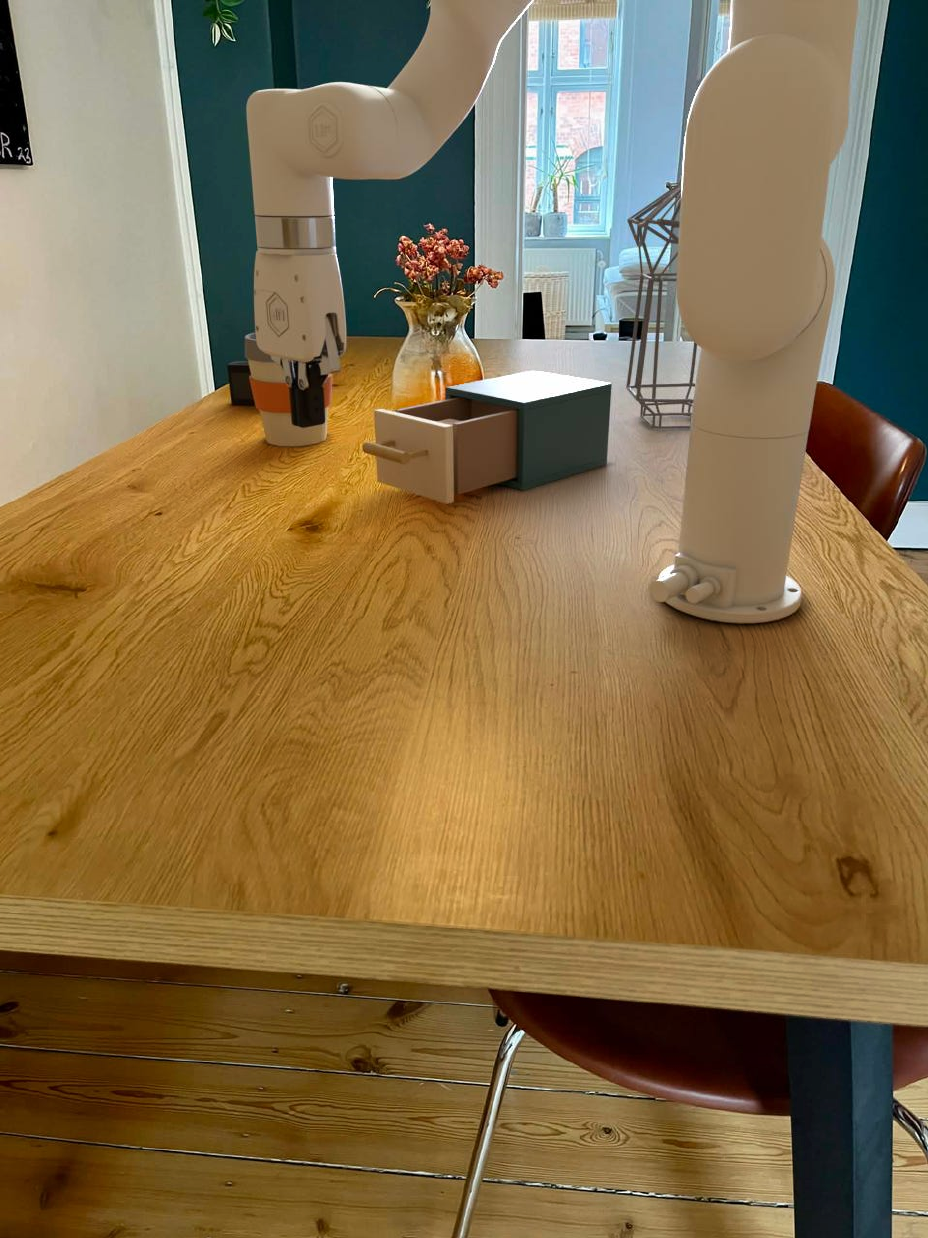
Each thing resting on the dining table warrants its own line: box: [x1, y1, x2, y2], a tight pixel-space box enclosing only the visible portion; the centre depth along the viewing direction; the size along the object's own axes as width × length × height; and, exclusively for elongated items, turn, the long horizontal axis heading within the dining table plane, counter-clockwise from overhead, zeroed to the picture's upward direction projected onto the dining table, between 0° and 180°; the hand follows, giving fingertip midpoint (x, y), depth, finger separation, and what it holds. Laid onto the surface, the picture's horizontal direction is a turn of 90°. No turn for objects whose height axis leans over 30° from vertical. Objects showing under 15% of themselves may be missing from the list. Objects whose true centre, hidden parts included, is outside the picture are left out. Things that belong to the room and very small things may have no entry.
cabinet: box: [444, 369, 613, 491], centre depth 120 cm, size 17×14×11 cm
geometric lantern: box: [625, 181, 698, 430], centre depth 138 cm, size 16×16×35 cm
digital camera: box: [226, 360, 256, 407], centre depth 158 cm, size 10×5×7 cm, turn 80°
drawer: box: [362, 397, 519, 505], centre depth 111 cm, size 20×13×9 cm, turn 134°
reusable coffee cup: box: [244, 332, 334, 447], centre depth 134 cm, size 13×13×15 cm
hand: (308, 424), depth 96 cm, fingers closed
